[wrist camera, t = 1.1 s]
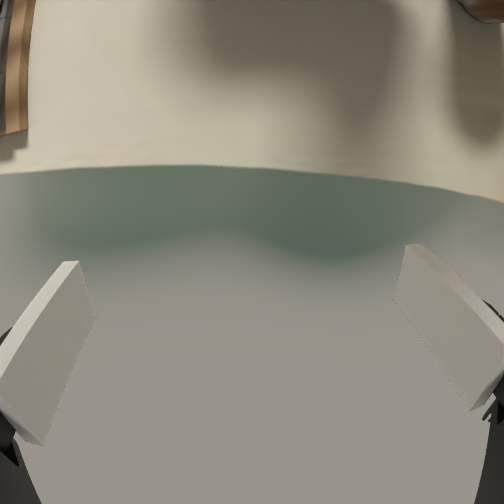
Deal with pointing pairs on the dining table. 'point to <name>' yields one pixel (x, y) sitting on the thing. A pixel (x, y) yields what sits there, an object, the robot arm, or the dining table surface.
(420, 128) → the dining table surface
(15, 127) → the button panel
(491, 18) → the plant pot
